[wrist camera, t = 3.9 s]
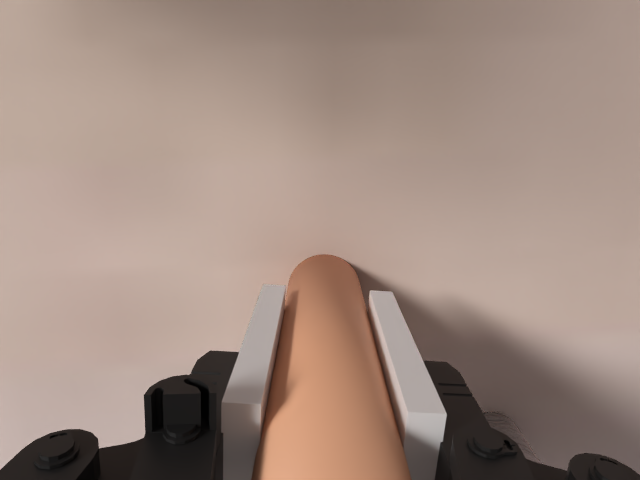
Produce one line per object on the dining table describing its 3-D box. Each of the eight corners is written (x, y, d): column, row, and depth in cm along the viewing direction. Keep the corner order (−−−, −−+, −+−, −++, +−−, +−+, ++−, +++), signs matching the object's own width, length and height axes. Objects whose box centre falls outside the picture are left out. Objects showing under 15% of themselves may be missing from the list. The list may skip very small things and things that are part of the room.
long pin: (289, 252, 18) (203, 633, 4) (362, 256, 18) (496, 645, 5) (286, 319, 19) (204, 822, 5) (356, 323, 19) (455, 830, 5)
